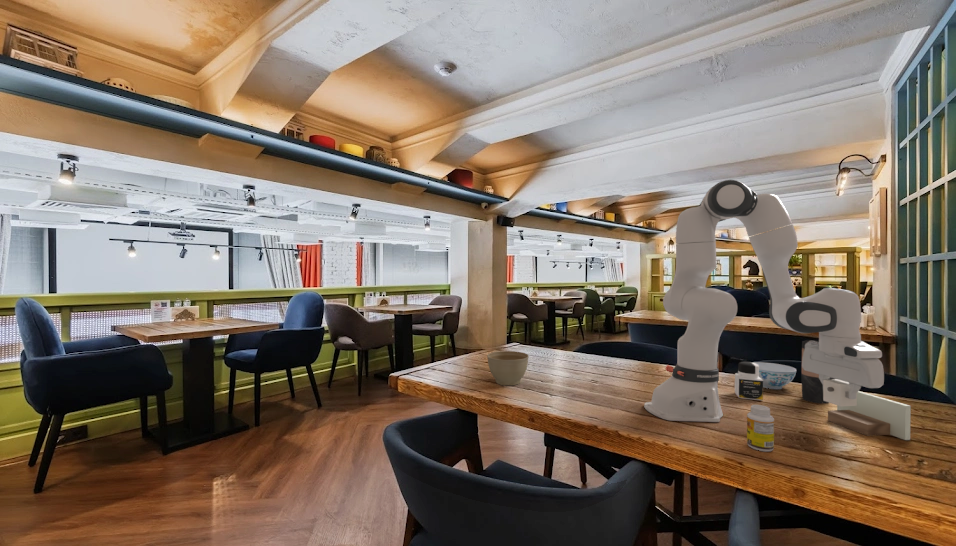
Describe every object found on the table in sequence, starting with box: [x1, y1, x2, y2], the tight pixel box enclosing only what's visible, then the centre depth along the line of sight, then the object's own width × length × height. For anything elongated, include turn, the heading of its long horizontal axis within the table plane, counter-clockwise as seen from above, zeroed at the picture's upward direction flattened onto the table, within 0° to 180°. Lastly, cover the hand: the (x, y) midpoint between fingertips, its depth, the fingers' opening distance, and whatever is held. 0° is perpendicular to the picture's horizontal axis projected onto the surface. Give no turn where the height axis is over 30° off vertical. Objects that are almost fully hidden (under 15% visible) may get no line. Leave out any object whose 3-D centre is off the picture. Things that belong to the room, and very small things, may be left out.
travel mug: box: [801, 339, 830, 404], centre depth 139 cm, size 8×8×20 cm
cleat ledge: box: [827, 409, 891, 437], centre depth 115 cm, size 7×11×3 cm, turn 7°
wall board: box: [836, 390, 912, 441], centre depth 116 cm, size 2×18×9 cm, turn 7°
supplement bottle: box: [746, 404, 775, 452], centre depth 102 cm, size 6×6×10 cm
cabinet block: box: [823, 378, 857, 406], centre depth 114 cm, size 6×5×6 cm
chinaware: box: [753, 361, 797, 390], centre depth 155 cm, size 15×15×8 cm
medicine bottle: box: [734, 361, 764, 401], centre depth 143 cm, size 7×7×12 cm
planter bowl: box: [486, 350, 530, 387], centre depth 159 cm, size 16×16×11 cm
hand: (839, 394), depth 114 cm, fingers closed on cabinet block, 5 cm apart
